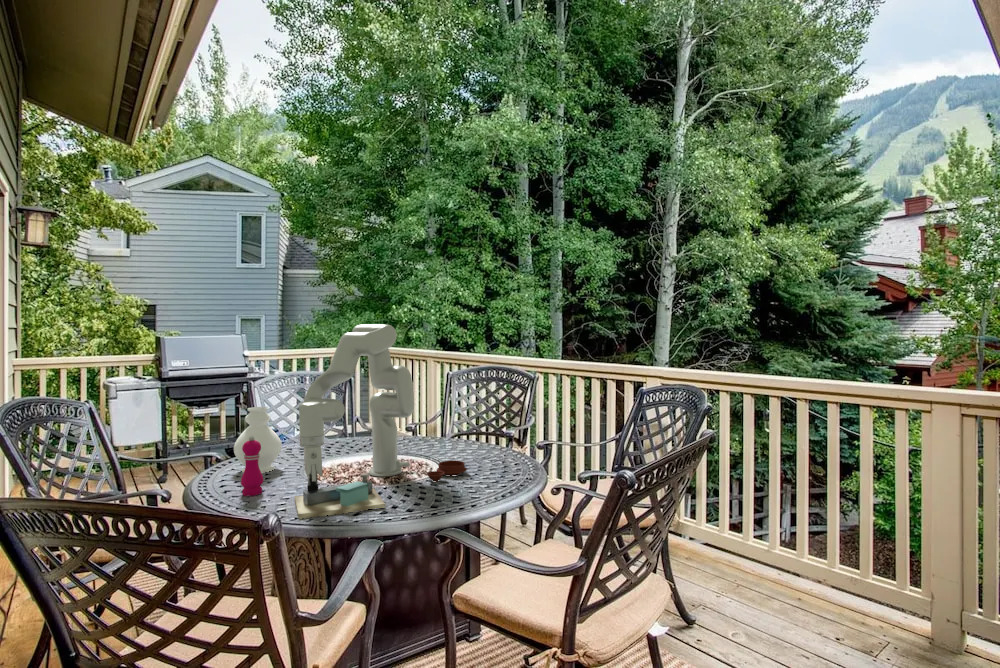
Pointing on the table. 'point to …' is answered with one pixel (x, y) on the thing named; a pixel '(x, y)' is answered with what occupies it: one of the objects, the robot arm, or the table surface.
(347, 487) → the block
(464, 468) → the pottery
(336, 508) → the base board
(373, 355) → the robot arm
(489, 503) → the table surface
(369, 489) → the link
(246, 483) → the pepper mill
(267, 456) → the decorative vase
